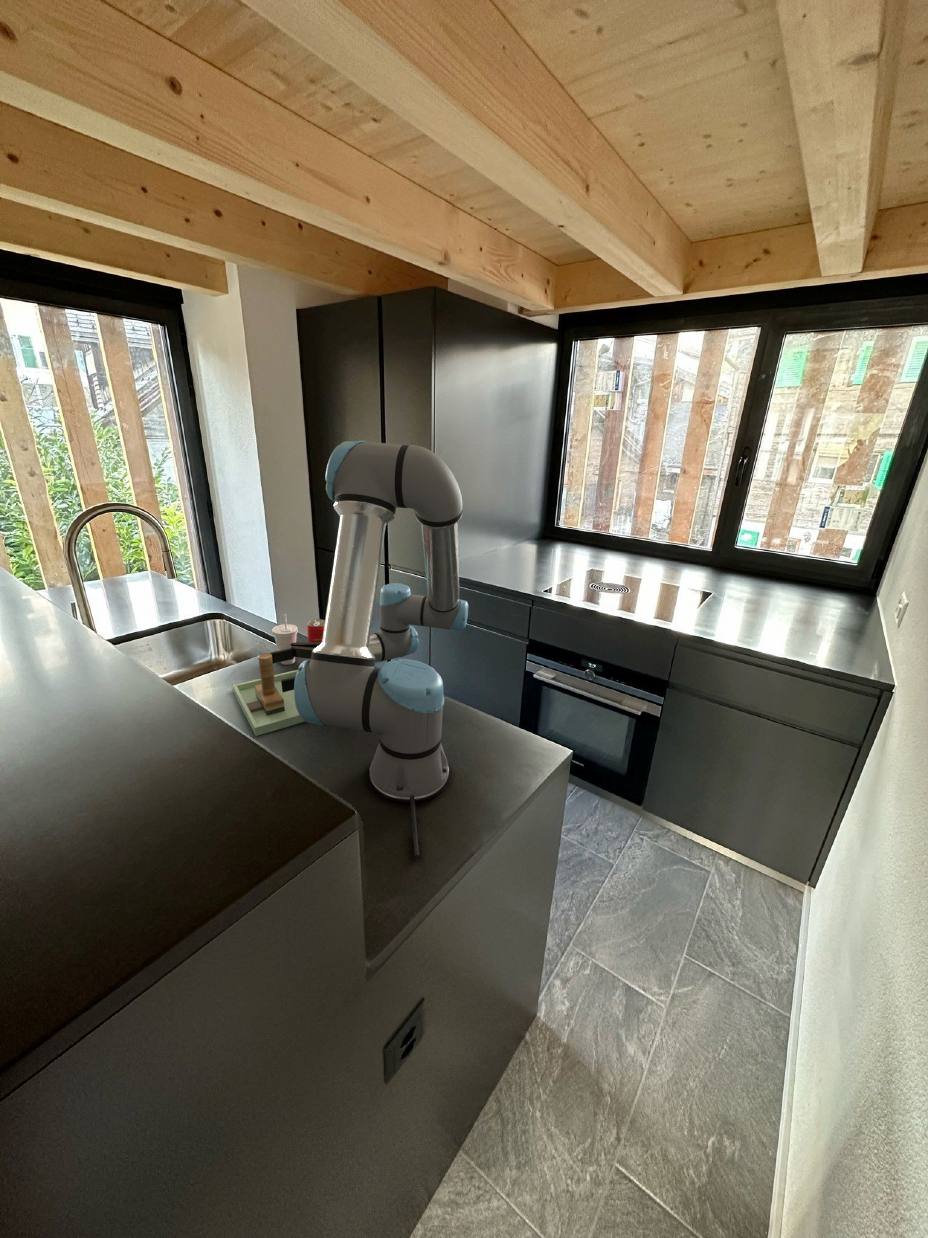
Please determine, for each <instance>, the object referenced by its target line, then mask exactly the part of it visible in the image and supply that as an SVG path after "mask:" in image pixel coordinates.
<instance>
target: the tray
mask: <svg viewBox="0 0 928 1238" xmlns="http://www.w3.org/2000/svg"><path fill="white" fill-rule="evenodd" d="M297 672H298V669H295V670H291V671H287V672H281V673H278V674H274V682H275V687H276V688H277V690H278V691H279V693H280V694H281V696H282V698H283V699H284V707H285V711H282V712H279V713H275V714H272V715H268V716H267V715H266V713H265V712H264V710H263V709H262V710H258V711H255V712H250V710H249V708H248V706H247V703H250V702H254V701H258V699H257V698H256V692H255V685H259V684H261V678H257V679H252V680H249V681H244V682H240V683H236V684H232V691H233V694H234V697H235V698H236V701H237V702H238V704H239V707H240V708H241V710H242V712H243V714H244V716H245V718H246V720H247V723H248V724H249V727H250V728H251V730H252V732H253V734H254V736H255V737H257V736H262V735H264V734H268V733H271V732H274V731H278V730H281V729H284V728H288V727H291V726H295V725H299V724H301V723H305V722H306V721H304V720H303V719H302V718H301V717H300V715H299V713H298V711H297V709H296V705H295V699H294V690H291V691H287V692H283V691H282V684H281V680H284V679H288V678H292V677H296V673H297Z"/></svg>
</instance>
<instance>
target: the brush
mask: <svg viewBox="0 0 928 1238" xmlns="http://www.w3.org/2000/svg"><path fill="white" fill-rule="evenodd" d="M258 666H259V676H260V679H261V684H259V685H255V692H256V698H257V699H258V700H259V701H260V703H261V705H262V706H263V710H264V712H265V713H266V715H267V716H268V715H272V714H275V713H279V712H282V711H285V707H284V699H283V698H282V696H281V694H280V693H279V691H278V690H277V688H276V687H275V682H274V675H275V674H274V664H273V662H272V655H271V654H270V652H263V653H261V654H259V655H258Z"/></svg>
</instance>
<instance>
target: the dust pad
mask: <svg viewBox="0 0 928 1238" xmlns="http://www.w3.org/2000/svg"><path fill="white" fill-rule="evenodd" d="M247 706H248V708H249V710H250V712H255V711H258V710H262V709H263V706H262V705H261V703H260V701H259V700H258V701H254V702H250V703H247Z"/></svg>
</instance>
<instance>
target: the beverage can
mask: <svg viewBox="0 0 928 1238" xmlns="http://www.w3.org/2000/svg"><path fill="white" fill-rule="evenodd" d="M324 625H325V619H321V618H315V619H311V620H309V621H308V622H307V625H306V628H307V642H322V639H323V632H324Z"/></svg>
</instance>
